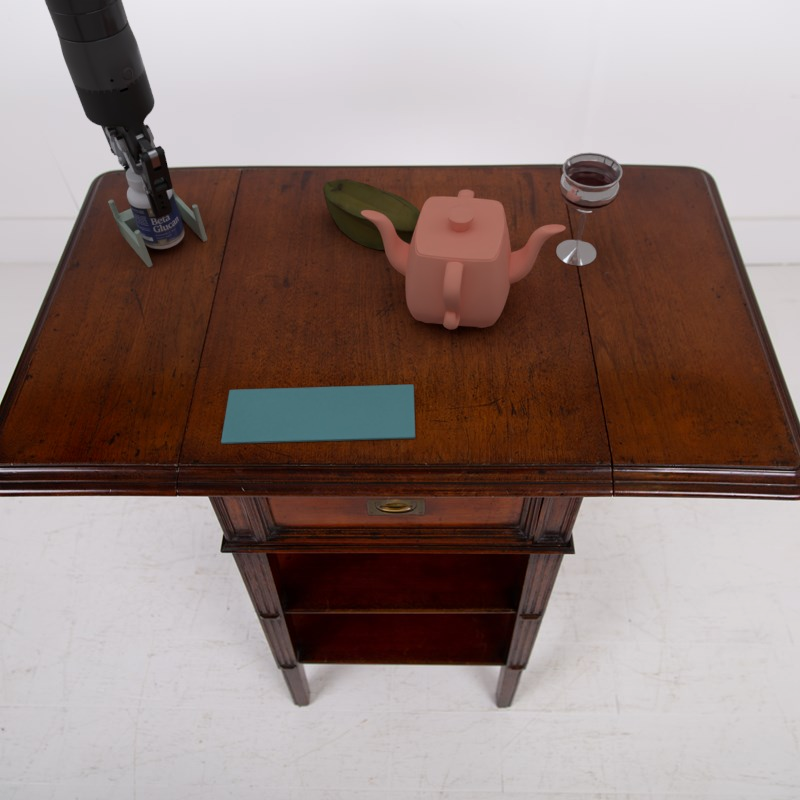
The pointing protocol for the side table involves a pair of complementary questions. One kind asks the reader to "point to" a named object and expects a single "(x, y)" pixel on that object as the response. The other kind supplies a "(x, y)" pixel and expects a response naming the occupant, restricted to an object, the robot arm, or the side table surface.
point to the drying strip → (319, 414)
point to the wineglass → (587, 198)
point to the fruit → (356, 197)
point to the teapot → (459, 259)
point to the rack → (134, 236)
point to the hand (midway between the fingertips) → (152, 201)
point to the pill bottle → (153, 216)
